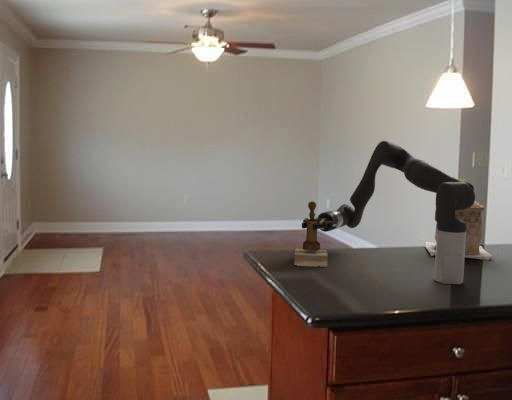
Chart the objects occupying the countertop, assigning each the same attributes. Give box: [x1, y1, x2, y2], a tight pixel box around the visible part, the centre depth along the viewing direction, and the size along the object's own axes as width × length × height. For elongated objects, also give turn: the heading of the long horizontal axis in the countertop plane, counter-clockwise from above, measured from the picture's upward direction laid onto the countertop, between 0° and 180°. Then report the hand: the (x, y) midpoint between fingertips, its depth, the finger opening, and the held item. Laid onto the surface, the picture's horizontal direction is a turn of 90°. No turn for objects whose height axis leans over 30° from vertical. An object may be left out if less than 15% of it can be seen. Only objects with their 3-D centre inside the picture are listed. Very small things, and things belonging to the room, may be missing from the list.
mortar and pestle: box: [302, 201, 321, 251], centre depth 217 cm, size 7×6×18 cm
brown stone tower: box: [424, 176, 493, 261], centre depth 241 cm, size 25×25×32 cm
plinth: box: [293, 247, 329, 268], centre depth 218 cm, size 12×12×4 cm
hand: (308, 226), depth 214 cm, fingers closed on mortar and pestle, 4 cm apart
